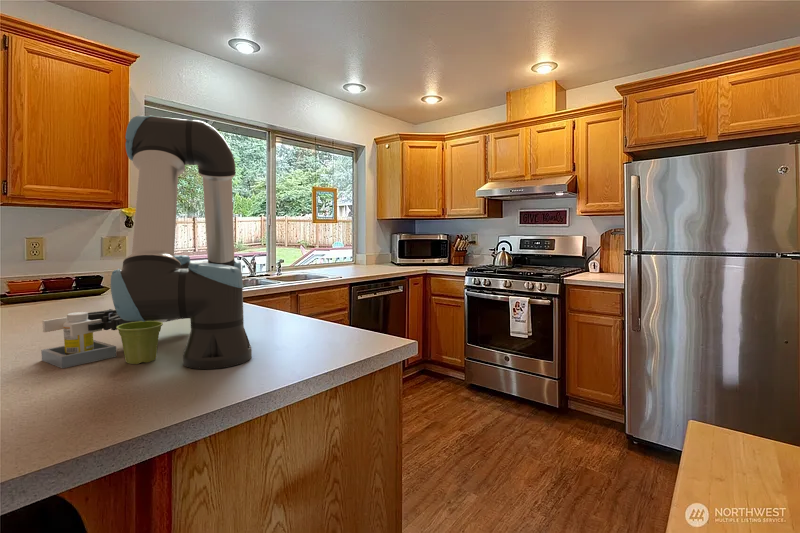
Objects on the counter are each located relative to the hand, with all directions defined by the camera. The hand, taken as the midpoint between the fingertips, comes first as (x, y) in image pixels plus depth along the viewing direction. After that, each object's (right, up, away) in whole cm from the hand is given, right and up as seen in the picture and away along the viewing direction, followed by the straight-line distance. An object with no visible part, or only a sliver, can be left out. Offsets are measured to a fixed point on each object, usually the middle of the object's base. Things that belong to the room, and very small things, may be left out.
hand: (57, 328), depth 95 cm
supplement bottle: (+1, -7, +5) cm, 9 cm away
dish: (+1, -8, +5) cm, 9 cm away
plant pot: (+17, -8, +4) cm, 19 cm away
